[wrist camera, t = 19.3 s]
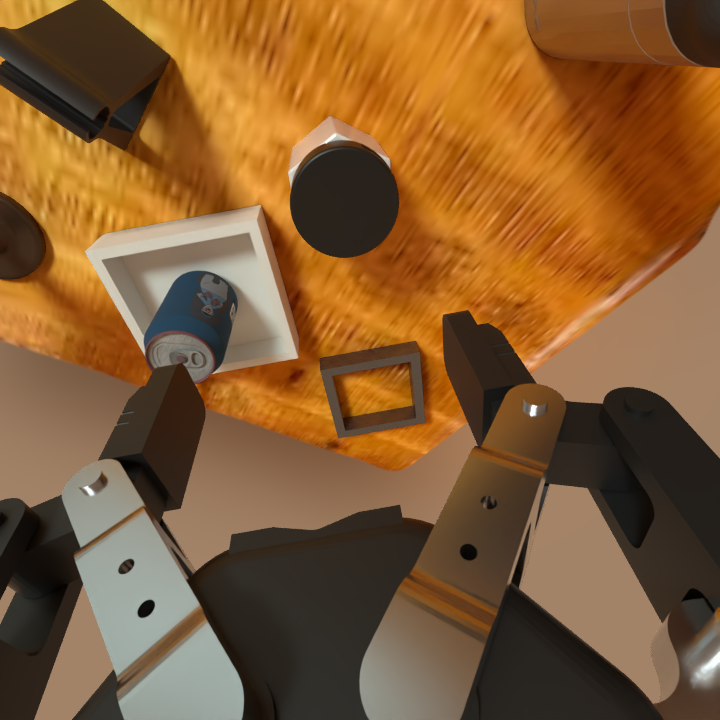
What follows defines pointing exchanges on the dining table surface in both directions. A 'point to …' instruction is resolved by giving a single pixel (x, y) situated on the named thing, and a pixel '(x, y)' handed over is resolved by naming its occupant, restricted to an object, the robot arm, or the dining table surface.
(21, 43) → the phone stand
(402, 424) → the collar
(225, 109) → the dining table surface
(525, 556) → the robot arm
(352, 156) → the jar
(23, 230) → the candlestick
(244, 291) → the bin
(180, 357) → the soda can
